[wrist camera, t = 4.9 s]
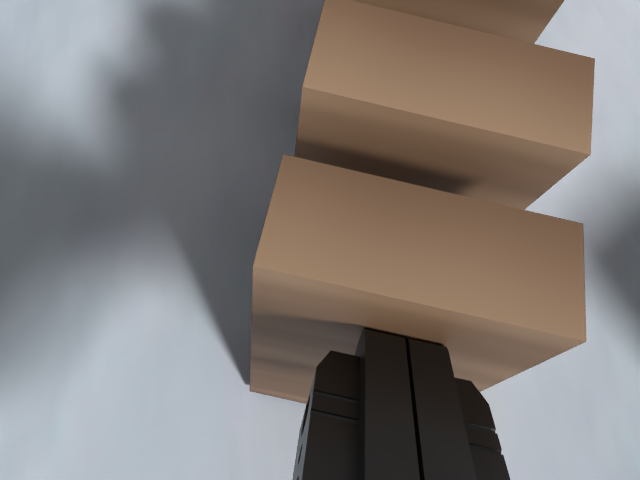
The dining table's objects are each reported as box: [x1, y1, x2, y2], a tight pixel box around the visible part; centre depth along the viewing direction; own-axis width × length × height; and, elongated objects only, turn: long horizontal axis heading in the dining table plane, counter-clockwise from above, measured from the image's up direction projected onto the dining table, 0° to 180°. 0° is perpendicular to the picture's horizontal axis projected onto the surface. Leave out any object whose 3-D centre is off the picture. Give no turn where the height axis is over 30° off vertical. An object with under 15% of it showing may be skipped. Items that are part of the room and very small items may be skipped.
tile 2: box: [295, 0, 595, 210], centre depth 14 cm, size 2×5×10 cm, turn 78°
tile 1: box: [250, 154, 586, 404], centre depth 13 cm, size 2×5×10 cm, turn 78°
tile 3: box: [352, 0, 564, 44], centre depth 16 cm, size 2×5×10 cm, turn 78°
